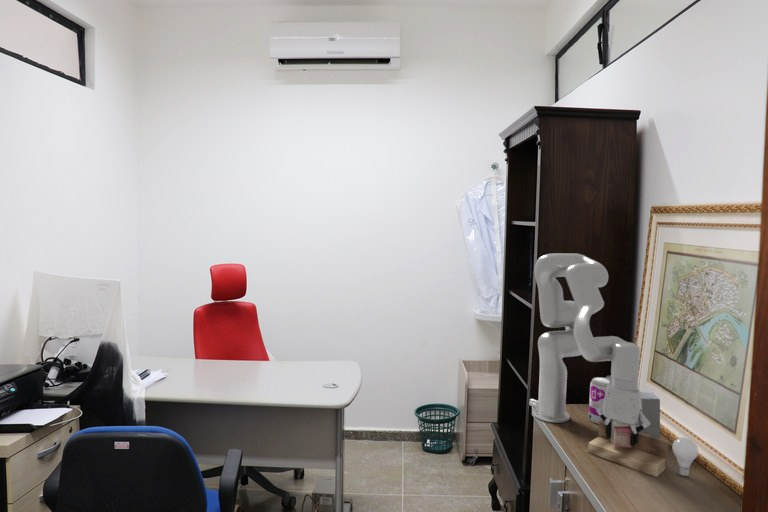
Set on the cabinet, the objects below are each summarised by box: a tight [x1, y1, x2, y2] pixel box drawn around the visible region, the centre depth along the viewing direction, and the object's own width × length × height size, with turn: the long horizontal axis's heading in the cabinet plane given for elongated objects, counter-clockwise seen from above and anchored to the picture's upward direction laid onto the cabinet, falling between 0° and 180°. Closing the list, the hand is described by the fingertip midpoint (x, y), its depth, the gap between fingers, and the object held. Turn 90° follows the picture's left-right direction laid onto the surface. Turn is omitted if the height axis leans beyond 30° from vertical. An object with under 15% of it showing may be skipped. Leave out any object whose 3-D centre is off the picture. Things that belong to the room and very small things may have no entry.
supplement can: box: [588, 376, 610, 425], centre depth 183 cm, size 8×8×15 cm
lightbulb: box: [671, 436, 699, 477], centre depth 145 cm, size 6×6×11 cm
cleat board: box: [587, 420, 670, 478], centre depth 154 cm, size 20×8×8 cm, turn 44°
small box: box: [611, 420, 632, 447], centre depth 155 cm, size 5×4×8 cm
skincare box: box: [638, 391, 661, 438], centre depth 167 cm, size 8×7×16 cm
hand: (621, 440), depth 155 cm, fingers closed on small box, 6 cm apart
